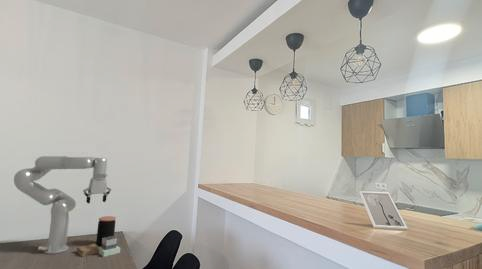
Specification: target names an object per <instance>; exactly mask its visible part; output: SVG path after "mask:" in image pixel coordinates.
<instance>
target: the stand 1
mask: <svg viewBox="0 0 482 269" xmlns="http://www.w3.org/2000/svg"><path fill="white" fill-rule="evenodd" d="M98 247H99V246H97V245H96V243H92V244H88V245H82V246H77V247H76V253H77V254H78V255H79V256H80V257H82V258H84V257H88V256H92V255H96V254H99V253H98V252H99V248H98Z"/></svg>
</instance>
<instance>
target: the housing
mask: <svg viewBox="0 0 482 269" xmlns="http://www.w3.org/2000/svg"><path fill="white" fill-rule="evenodd" d="M117 241H118V238H117V237H116V236H115V235H114V236H109V237H104V238H102V248H103V249H104V250H109V249H113V248H116V246H117V243H118V242H117Z"/></svg>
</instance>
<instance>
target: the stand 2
mask: <svg viewBox="0 0 482 269" xmlns="http://www.w3.org/2000/svg"><path fill="white" fill-rule="evenodd" d="M98 248H99V252H98V253H97V254H99V256H102V257H109V256H112V255H116V254H120V253H121V247H119V246H118V245H116V248H113V249H109V250H104V249H103V248H102V247H98Z"/></svg>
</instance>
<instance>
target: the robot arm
mask: <svg viewBox="0 0 482 269" xmlns="http://www.w3.org/2000/svg"><path fill="white" fill-rule="evenodd" d="M107 166H108V160H107V158H105V157H92V156H81V157H80V156H75V157H72V156H64V155H63V156H62V155H61V156H60V155H59V156H58V155H57V156H54V155H53V156H52V155H51V156H50V155H49V156H46V155H45V156H44V155H43V156H40V157H38V158H36V159H35V162H34V166H33V167H32V168H23V169H20V170H18V171H17V172H16V173H15V175H14V177H13V183H14V186H15V188H16V189H17V190H19V191H20V192H22V193H23V194H25V195H27V196H28V197H29V198H31V199H33V200H34V201H36V202H37V203H39V204H41V205H42V206H49V205H51V207H50V224H49V226H50V227H49V233H48V234H49V235H48V242H47V243H46V244H45V245H41V246H38V247H37V251H43V253H45V254H47V255H48V254H49V255H52V254H53V255H54V254H55V255H56V254H60V253H64V252H67V251H68V250H69V248H70V247H69V246H68V245H67V240H68V230H69V224H70V223H69V222H70V215H69V213H70V212H71V211H73V210H74V209H75V208H76V204H77V202H76V200H75V199H74V198H73V197H71V196H70V195H68V193H65V192H63V191H62V190H60V189H58V188H50V189H48V188H46V187H45V186H43V185H41V184H40V183H37V182H35V181H39V180H40V179H42V178H43V177H45V176H46V175H47V174H48V173H50V172H51V171H52V170H85V169H86V170H87V169H93V170H92V178H90V180H89V184H88V187H87V188H85V189H82V191H83V194H84V196H85V197H86V201H85V202H86V203H87V204H90V203H91V196H92V195H99V194H100V195H101V194H102V195H103V196H102V202H103V203H105V202H106V201H107V198H108V195H109V194H110V193H111V191H112V189H111V188H110V187H108V186H107V185H108V182H107V177H108V176H109V175H108V174H107V168H108V167H107Z"/></svg>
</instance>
